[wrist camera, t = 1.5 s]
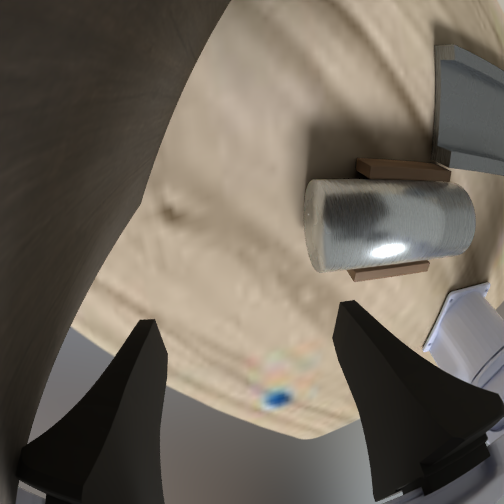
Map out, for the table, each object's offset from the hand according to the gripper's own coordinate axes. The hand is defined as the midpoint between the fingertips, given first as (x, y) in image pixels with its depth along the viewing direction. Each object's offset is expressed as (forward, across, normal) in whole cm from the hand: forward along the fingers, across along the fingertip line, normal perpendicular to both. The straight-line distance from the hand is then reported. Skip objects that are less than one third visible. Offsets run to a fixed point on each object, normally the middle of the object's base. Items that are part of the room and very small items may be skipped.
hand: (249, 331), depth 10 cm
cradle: (+9, -20, -9) cm, 23 cm away
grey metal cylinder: (+10, -10, 0) cm, 14 cm away
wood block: (+10, +11, -19) cm, 24 cm away
